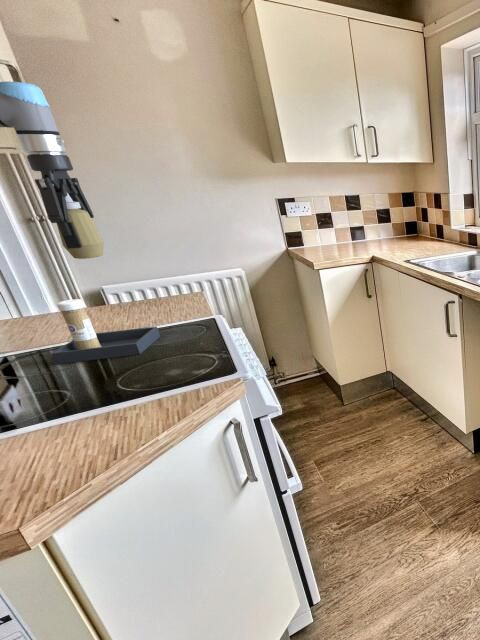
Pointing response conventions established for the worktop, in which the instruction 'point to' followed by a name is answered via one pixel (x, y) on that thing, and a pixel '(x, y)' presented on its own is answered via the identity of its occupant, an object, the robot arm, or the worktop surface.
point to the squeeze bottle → (83, 232)
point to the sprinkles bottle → (79, 324)
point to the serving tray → (109, 346)
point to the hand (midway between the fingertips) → (84, 245)
